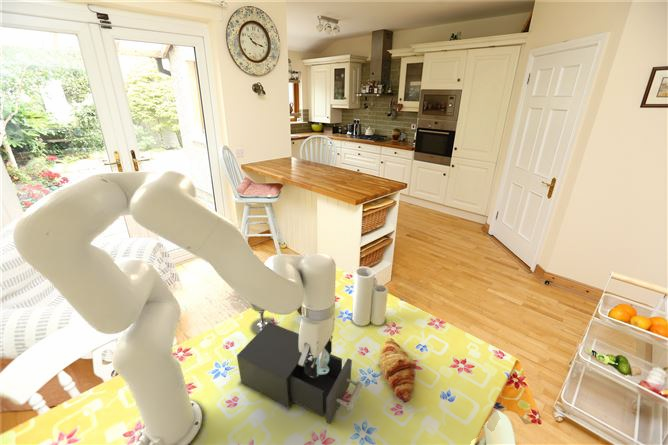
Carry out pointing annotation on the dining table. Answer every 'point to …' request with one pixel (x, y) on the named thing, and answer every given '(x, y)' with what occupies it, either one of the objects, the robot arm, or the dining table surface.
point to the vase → (368, 298)
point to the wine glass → (260, 323)
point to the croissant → (397, 369)
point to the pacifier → (322, 362)
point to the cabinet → (270, 362)
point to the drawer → (324, 388)
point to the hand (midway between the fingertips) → (318, 362)
